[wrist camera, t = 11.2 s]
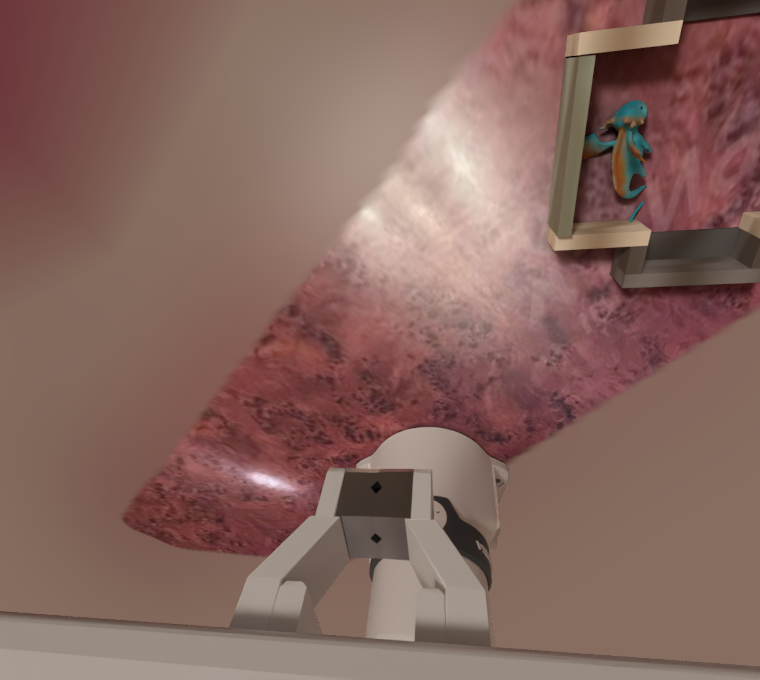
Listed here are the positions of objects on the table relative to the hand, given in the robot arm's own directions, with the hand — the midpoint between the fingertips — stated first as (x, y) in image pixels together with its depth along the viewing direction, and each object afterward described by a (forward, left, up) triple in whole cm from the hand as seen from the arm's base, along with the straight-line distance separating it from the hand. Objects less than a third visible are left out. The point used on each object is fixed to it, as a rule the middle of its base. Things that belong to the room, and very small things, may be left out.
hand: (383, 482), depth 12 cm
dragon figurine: (+2, -16, -30) cm, 34 cm away
